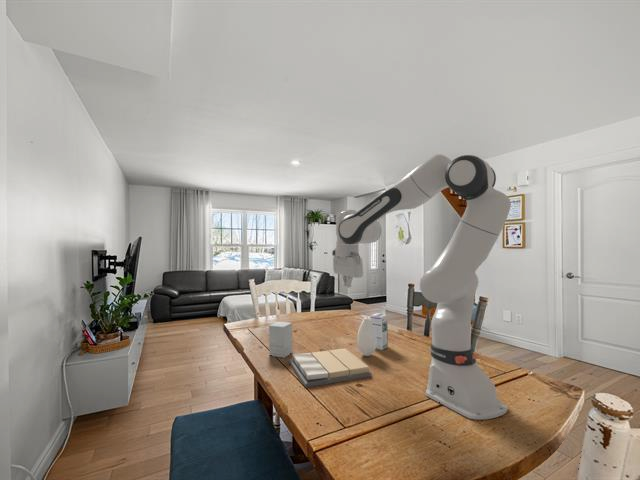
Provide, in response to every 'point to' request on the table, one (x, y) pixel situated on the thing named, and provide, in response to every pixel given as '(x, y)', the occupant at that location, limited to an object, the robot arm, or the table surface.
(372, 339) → the sauce bottle
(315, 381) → the floor panel
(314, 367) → the whitewashed plank
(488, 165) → the robot arm
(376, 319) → the syrup box
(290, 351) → the supplement box
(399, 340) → the table surface
